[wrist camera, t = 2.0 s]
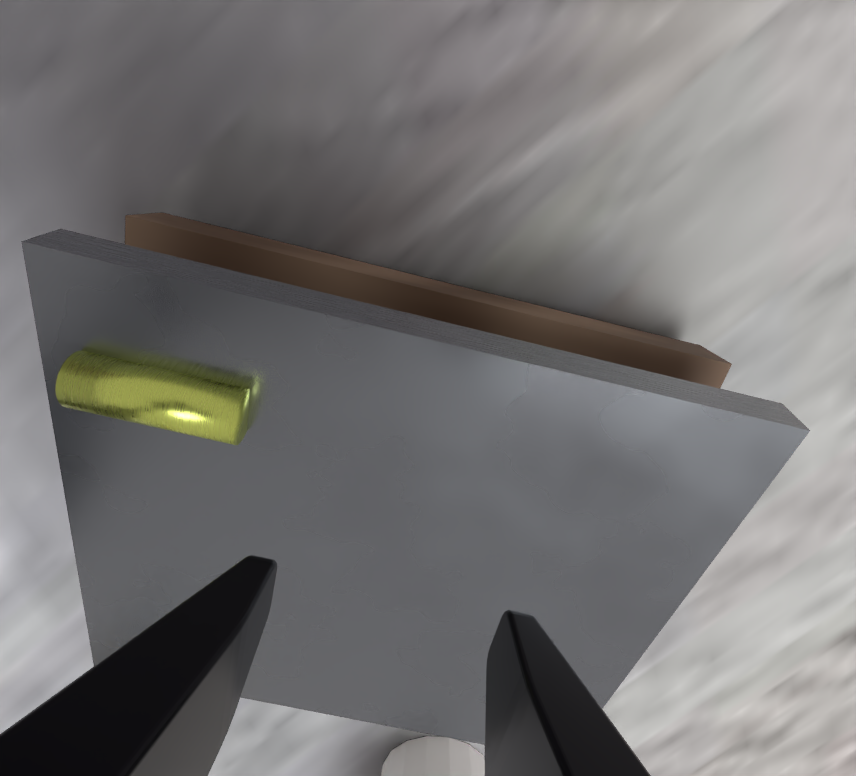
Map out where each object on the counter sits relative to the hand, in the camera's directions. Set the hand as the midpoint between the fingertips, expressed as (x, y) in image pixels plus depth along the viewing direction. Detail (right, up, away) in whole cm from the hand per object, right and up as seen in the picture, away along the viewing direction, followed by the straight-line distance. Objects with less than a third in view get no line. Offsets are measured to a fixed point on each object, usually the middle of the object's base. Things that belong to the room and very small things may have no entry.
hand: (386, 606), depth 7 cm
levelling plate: (-1, -2, +9) cm, 9 cm away
